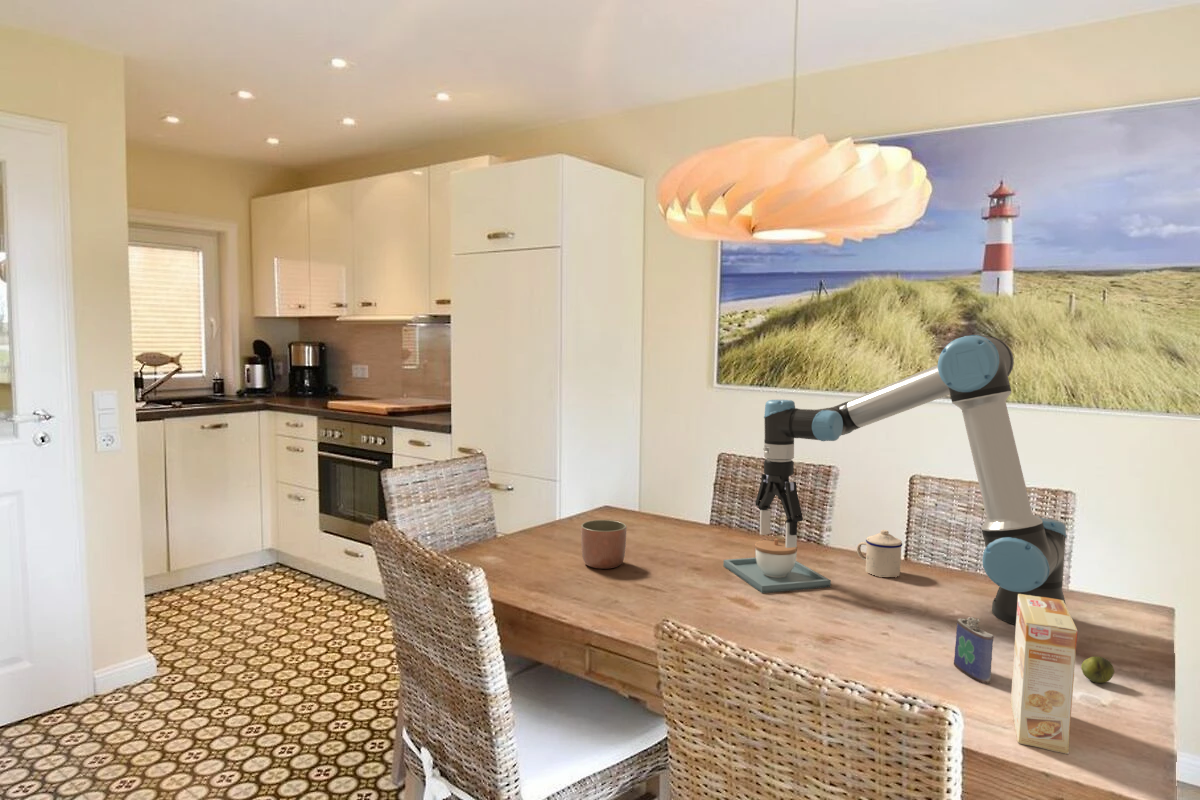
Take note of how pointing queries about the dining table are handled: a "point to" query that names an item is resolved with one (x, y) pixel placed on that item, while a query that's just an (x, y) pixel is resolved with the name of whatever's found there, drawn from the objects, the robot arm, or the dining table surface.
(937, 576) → the dining table surface
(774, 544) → the lidded jar
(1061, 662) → the coffeecake box
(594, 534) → the planter
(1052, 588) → the robot arm
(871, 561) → the teacup with lid
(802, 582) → the tray
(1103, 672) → the lime
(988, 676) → the flask
